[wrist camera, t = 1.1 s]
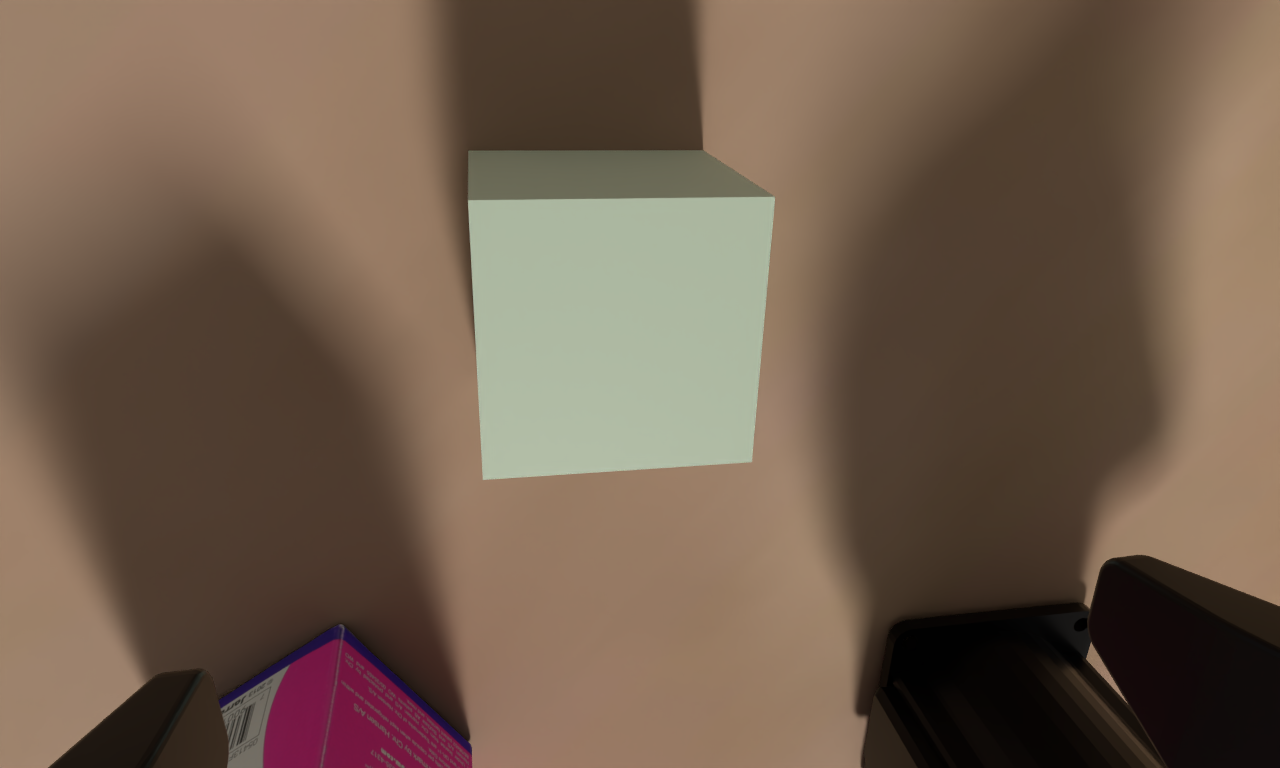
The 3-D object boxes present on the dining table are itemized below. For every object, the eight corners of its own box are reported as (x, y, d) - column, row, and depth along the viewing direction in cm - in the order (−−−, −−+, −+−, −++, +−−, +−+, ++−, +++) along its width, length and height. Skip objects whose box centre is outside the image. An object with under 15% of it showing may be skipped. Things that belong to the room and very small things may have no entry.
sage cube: (702, 149, 19) (774, 196, 14) (691, 361, 21) (751, 461, 16) (468, 149, 18) (467, 200, 13) (480, 371, 20) (483, 480, 15)
